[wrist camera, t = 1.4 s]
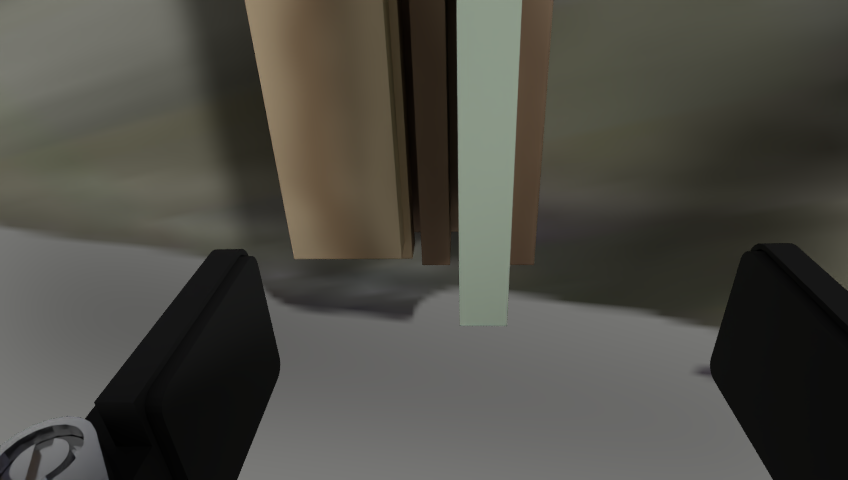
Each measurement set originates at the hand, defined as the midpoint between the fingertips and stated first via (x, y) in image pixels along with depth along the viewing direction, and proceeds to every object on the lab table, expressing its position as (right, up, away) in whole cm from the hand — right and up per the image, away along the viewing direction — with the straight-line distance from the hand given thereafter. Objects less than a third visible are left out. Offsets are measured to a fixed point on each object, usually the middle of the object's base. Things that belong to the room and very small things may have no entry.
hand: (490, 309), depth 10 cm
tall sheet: (+2, +11, +18) cm, 21 cm away
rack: (-1, +11, +20) cm, 23 cm away
